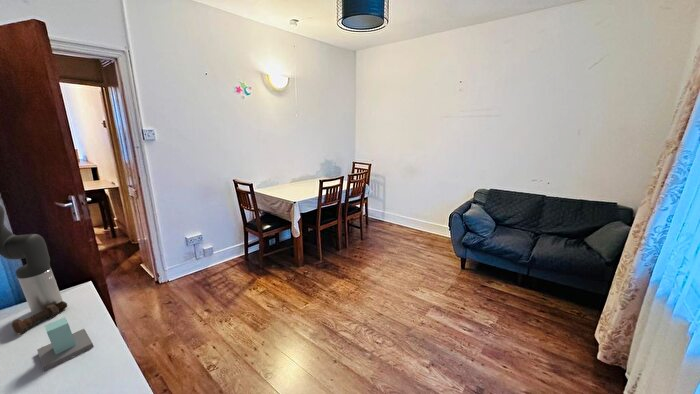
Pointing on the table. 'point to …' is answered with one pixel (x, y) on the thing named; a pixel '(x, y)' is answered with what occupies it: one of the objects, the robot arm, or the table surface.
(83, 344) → the base plate
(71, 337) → the block
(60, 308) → the bolt
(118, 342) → the table surface
